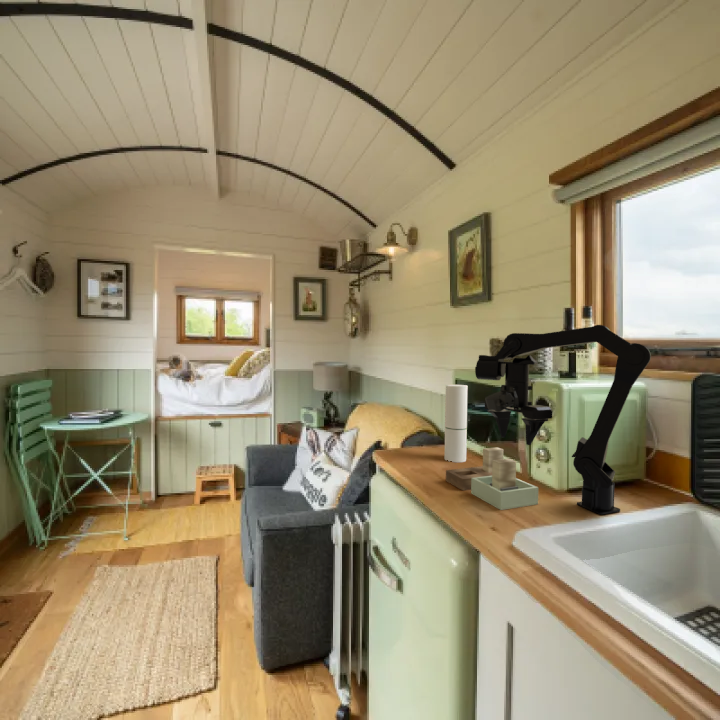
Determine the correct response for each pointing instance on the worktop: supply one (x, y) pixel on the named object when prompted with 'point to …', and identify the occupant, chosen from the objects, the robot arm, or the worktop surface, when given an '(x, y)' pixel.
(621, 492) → the worktop surface
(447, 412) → the cylindrical container
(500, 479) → the block
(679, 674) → the worktop surface
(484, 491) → the green open tray
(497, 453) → the block
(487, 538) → the worktop surface
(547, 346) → the robot arm
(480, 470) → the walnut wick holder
